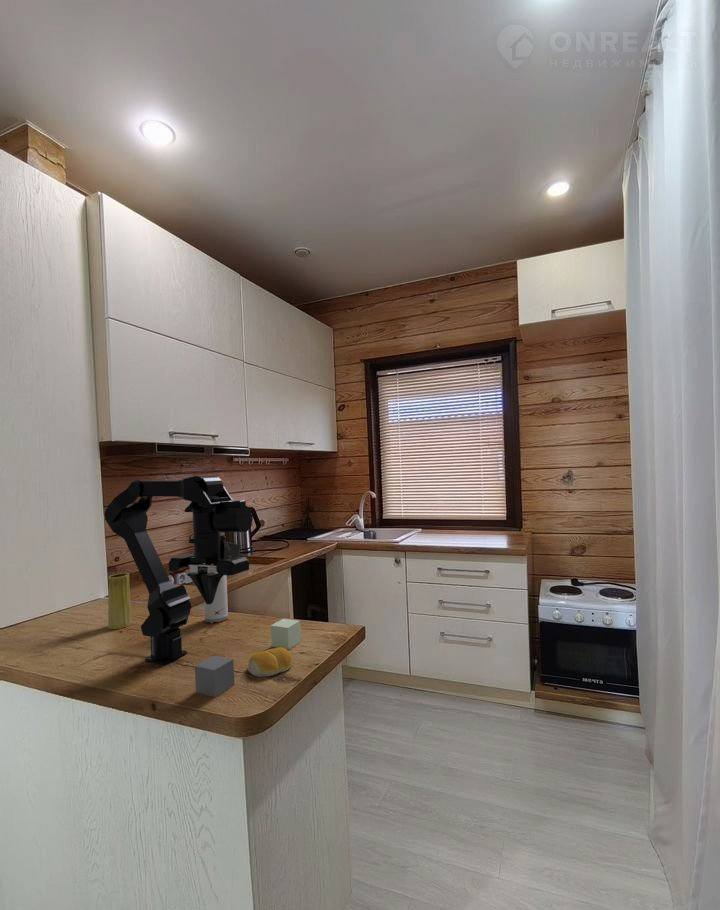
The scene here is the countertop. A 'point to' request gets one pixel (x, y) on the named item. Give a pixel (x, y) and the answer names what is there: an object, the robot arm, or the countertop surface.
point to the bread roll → (270, 662)
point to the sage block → (285, 633)
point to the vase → (119, 601)
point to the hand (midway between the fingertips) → (209, 603)
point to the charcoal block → (214, 675)
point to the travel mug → (218, 603)
